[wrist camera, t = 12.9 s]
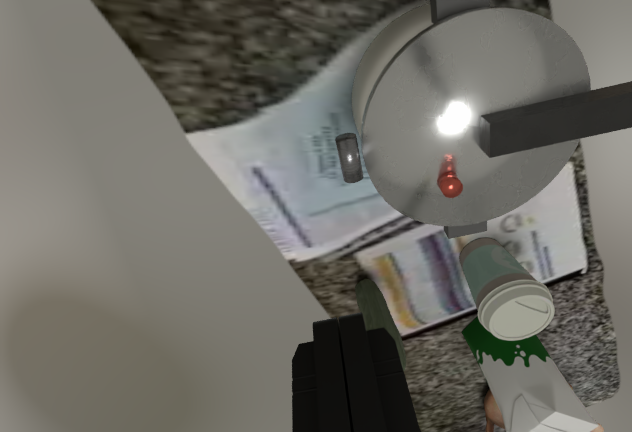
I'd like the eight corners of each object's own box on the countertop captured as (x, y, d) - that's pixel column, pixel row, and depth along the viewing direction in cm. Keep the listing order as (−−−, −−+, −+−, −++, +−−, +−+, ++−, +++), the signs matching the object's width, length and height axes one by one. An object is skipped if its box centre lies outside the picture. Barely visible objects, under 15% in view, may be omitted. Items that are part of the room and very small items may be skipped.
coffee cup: (518, 260, 57) (567, 325, 47) (461, 286, 59) (497, 353, 49) (500, 218, 53) (549, 279, 43) (440, 247, 55) (474, 312, 45)
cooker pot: (330, -12, 38) (342, -3, 29) (524, -62, 37) (595, -68, 28) (369, 207, 51) (384, 256, 43) (512, 175, 50) (558, 220, 41)
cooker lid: (315, 46, 31) (318, 56, 28) (652, -37, 29) (692, -36, 26) (356, 238, 42) (360, 260, 39) (608, 186, 40) (633, 205, 37)
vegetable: (353, 265, 56) (381, 397, 39) (384, 265, 56) (424, 395, 40) (351, 289, 59) (375, 423, 42) (380, 288, 59) (417, 421, 42)
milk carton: (453, 333, 65) (510, 464, 48) (490, 296, 61) (567, 425, 44) (494, 348, 68) (562, 478, 51) (532, 313, 64) (620, 441, 47)
